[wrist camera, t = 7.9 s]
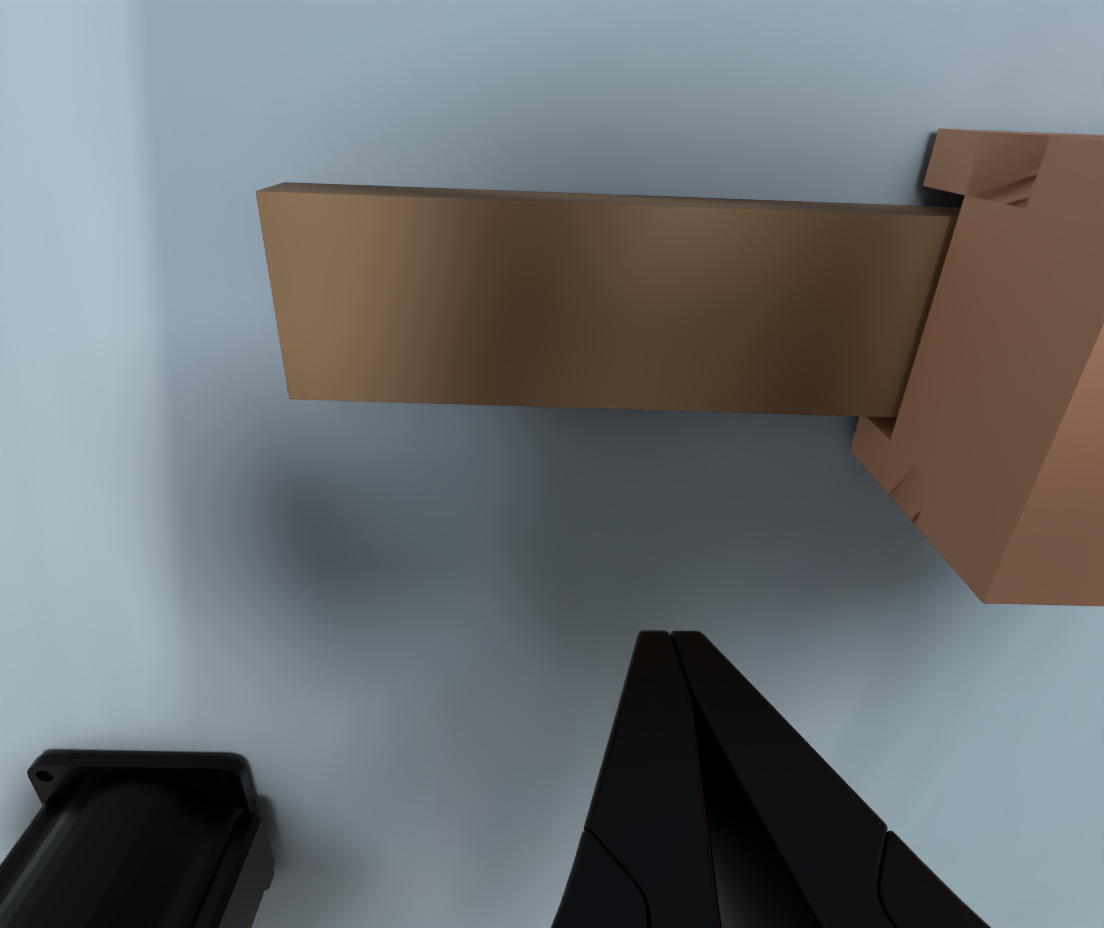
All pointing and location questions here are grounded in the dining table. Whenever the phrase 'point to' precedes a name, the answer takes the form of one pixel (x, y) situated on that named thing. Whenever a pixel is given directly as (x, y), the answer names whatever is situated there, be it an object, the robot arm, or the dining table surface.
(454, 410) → the dining table surface
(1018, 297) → the block
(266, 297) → the dining table surface
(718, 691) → the robot arm
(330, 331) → the rail
